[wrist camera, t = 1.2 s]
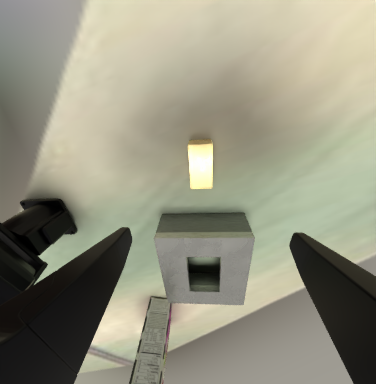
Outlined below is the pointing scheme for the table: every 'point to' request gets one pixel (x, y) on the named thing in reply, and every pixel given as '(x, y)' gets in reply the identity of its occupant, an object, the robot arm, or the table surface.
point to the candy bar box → (153, 344)
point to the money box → (205, 247)
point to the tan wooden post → (200, 163)
